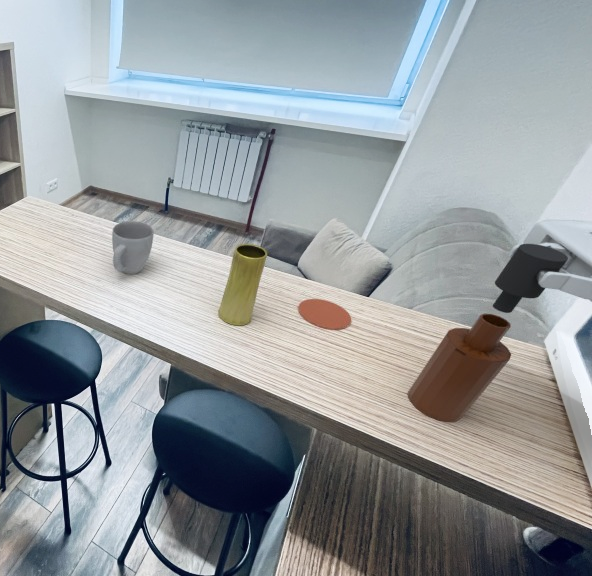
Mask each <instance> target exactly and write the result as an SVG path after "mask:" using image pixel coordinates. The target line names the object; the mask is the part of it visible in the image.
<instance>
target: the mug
mask: <svg viewBox="0 0 592 576" xmlns="http://www.w3.org/2000/svg"><path fill="white" fill-rule="evenodd" d="M111 233H112V235H111V241H112V251H113V256H112V264H113V268H114V269H115V271H118V272H121V273H123V274H127V275H135V274H137V275H138V274H139V273H141V272H142V271H143V269H144V266H145V265H146V263H147V262H148V260H149V257H150V255H151V251H152V248H153V241H154V229H153V227H152V226H151V225H150V224H148V223H145V222H141V221H137V220H136V221H135V220H128V221H122V222H119V223H117V224H116V225H114V226H113V228H112V231H111Z"/></svg>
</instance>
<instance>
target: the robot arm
mask: <svg viewBox="0 0 592 576" xmlns="http://www.w3.org/2000/svg"><path fill="white" fill-rule="evenodd" d="M522 244H537V245H542V246H546V247H550V248H553V249H555V250H558V251H560V252H562V253H564V254H565V255H566V256H567V257H568V260H567V261H566V263H565V264H564V265H563V266H562V268H561V269H556V268H553V269H551V268H542V269H540V270H539V271H538V273H537V275H535V276H534V280H535V281H536V282H537V283H538V284H539V285H540V286H541V287H543V288H545V289H551V290H556V291H557V290H558V291H560V292H563V293H566V294H569V295H572V296H575V297H578V298H580V299H583V300H589V301H590V302H591V303H592V221H591V220H575V219H544V220H540V221H538V222H536V223H535V224H534V225H533V226H532V228H531V229H530V230H529V232H528V234H527V235H526V237H525V238H524V240H523V242H522ZM520 245H521V244H516V245H513V247H512V248H510V250H509V252H508V253H507V256H508V258H509V259H511V257H512V256H513V254H514V253H515V252H516V250H517V249H518V247H519V246H520Z"/></svg>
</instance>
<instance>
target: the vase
mask: <svg viewBox="0 0 592 576" xmlns="http://www.w3.org/2000/svg"><path fill="white" fill-rule="evenodd" d="M267 258H268V251H267V250H266V249H265V248H264V247H262V246H259V245H257V244H252V243H242V244H238V245H236V247H235V248H234V251H233V255H232V259H231V265H230V269H229V273H228V278H227V282H226V284H225V288H224V290H223V295H222V298H221V302H220V305H219V309H218V310H217V313H218V316H219V318H220V319H221V320H222V321H223V322H225V323H227V324H229V325H232V326H245V325H248V324H250V322H251V321H252V319H253V312H254V307H255V303H256V299H257V295H258V290H259V286H260V283H261V282H260V281H261V278H262V275H263V272H264V268H265V264H266V261H267Z"/></svg>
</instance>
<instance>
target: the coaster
mask: <svg viewBox="0 0 592 576" xmlns="http://www.w3.org/2000/svg"><path fill="white" fill-rule="evenodd" d="M297 310H298V314H299V316H301V317H302V319H304V320H305V321H306V322H308V323H309V324H311V325H313V326H315V327H318V328H321V329H324V330H331V331H332V330H333V331H334V330H335V331H336V330H337V331H338V330H344V329H346V328H348V327H349V326H350V325H351V323H352V317H351V314H350V313H349V312H348V310H346V309H345V308H344V307H342V306H341V305H339V304H337V303H335V302H333V301H330V300H325V299H320V298H308V299H304V300H302V301H301V302H299V305H298V308H297Z"/></svg>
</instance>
